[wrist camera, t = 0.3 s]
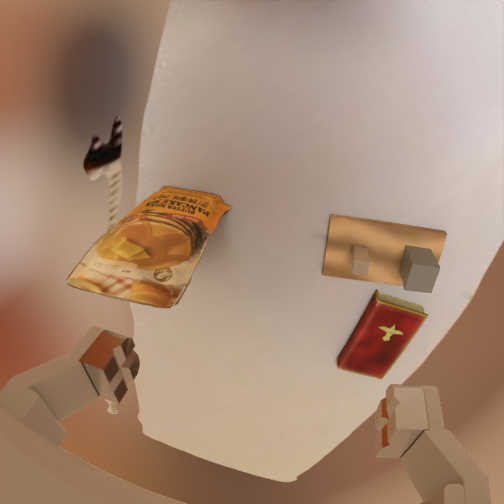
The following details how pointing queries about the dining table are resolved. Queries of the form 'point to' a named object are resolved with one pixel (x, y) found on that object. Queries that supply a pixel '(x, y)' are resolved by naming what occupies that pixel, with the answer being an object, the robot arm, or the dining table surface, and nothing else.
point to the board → (375, 247)
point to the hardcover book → (381, 335)
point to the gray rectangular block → (418, 269)
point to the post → (360, 259)
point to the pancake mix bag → (151, 249)
